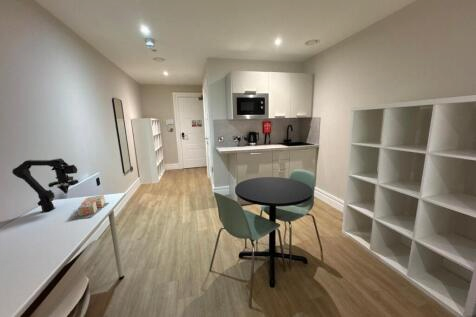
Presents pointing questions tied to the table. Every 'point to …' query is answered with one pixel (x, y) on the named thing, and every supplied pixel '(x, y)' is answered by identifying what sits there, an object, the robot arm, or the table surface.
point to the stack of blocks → (91, 205)
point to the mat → (89, 214)
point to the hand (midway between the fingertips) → (66, 193)
